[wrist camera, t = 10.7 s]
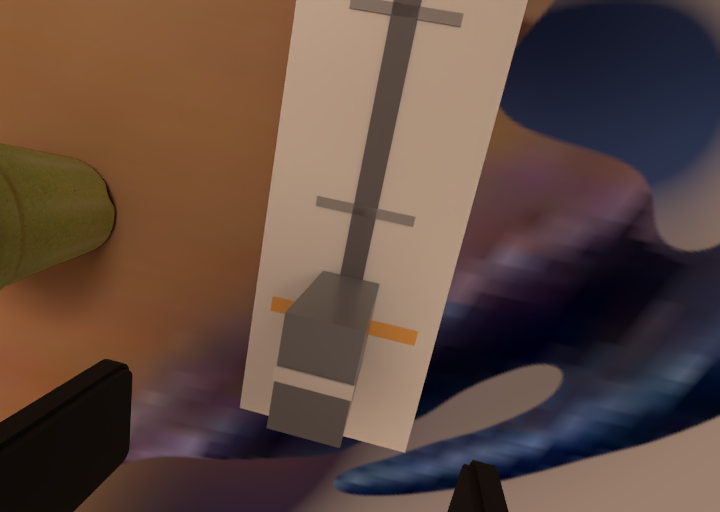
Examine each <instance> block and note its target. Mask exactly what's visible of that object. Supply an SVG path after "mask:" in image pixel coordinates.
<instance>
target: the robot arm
mask: <svg viewBox="0 0 720 512" xmlns="http://www.w3.org/2000/svg"><path fill="white" fill-rule="evenodd" d="M131 395H132V373H131V371H129V367H128V366H127V365H126V364H124V363H120V362H116V361H113V360H109V359H104V360H102V361H100V362H98V363H97V364H95V365H93V366H92V367H90V368H88V369H87V370H85V371H84V372H82V373H80V374H79V375H77V376H75V377H74V378H72V379H70V380H69V381H67V382H66V383H64V384H62V385H61V386H59V387H57V388H56V389H54V390H52V391H51V392H49V393H48V394H46V395H44V396H43V397H41V398H39V399H38V400H36V401H34V402H33V403H31V404H30V405H28V406H26V407H25V408H23V409H21V410H20V411H18V412H16V413H15V414H13V415H12V416H10V417H8V418H7V419H5V420H3V421H2V422H0V512H74V511H75V510H76V508H78V506H79V505H80V504H82V503H83V502H84V500H86V499H87V497H89V496H90V495H91V494H92V493H93V492H94V491H95V489H97V488H98V487H99V486H100V485H101V484H102V482H104V481H105V480H106V479H107V477H108V476H110V474H112V473H113V472H114V471H115V470H116V468H118V467H119V466H120V465H121V463H122V462H123V461H124V460H125V458H126V456H127V454H128V451H129V442H130V419H131ZM448 512H508V508H507V504H506V501H505V497H504V493H503V489H502V486H501V482H500V478H499V474H498V471H497V468H496V467H495V466H493V465H489V464H486V463H482V462H478V461H475V460H472V462H471V463H470V465H466V464H464V465H463V466H462V469H461V472H460V475H459V478H458V481H457V484H456V487H455V490H454V494H453V497H452V500H451V503H450V506H449V509H448Z"/></svg>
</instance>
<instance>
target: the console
mask: <svg viewBox="0 0 720 512" xmlns="http://www.w3.org/2000/svg"><path fill="white" fill-rule="evenodd" d="M527 2H528V0H296V6H295V14H294V21H293V28H292V35H291V42H290V50H289V57H288V64H287V71H286V78H285V86H284V93H283V100H282V107H281V114H280V122H279V129H278V136H277V143H276V150H275V158H274V165H273V172H272V179H271V186H270V193H269V201H268V208H267V215H266V222H265V229H264V237H263V244H262V251H261V258H260V265H259V273H258V280H257V287H256V294H255V301H254V309H253V316H252V323H251V330H250V337H249V345H248V352H247V359H246V366H245V373H244V381H243V388H242V395H241V402H240V408H242V409H246V410H249V411H253V412H257V413H260V414H264V415H268V416H269V410H270V404H271V397H272V391H273V385H274V381H272V379H273V372H274V366H275V365H276V366H277V360H278V354H279V348H280V342H281V335H282V329H283V323H284V317H285V312H286V311H287V310H288V309H289V308H290V307H291V305H292V304H293V303H294V302H295V301H296V300H297V299H298V298H299V297H300V296H301V294H302V293H303V292H304V291H305V290H306V289H307V288H308V287H309V286H310V285H311V284H312V282H313V281H314V280H315V279H316V278H317V277H318V276H319V275H320V274H321V273H322V272H323V271H327V272H331V273H335V274H340V275H344V276H348V277H352V278H357V279H361V280H365V281H370V282H374V283H378V284H379V289H378V293H377V298H376V302H375V307H374V311H373V316H372V320H371V325H370V329H369V334H368V338H367V343H366V347H365V352H364V356H363V361H362V365H361V370H360V373H359V377H358V381H357V385H356V389H355V392H354V396H353V400H352V404H351V408H350V411H349V415H348V419H347V423H346V427H345V431H344V434H343V436H345V437H349V438H352V439H356V440H360V441H363V442H367V443H371V444H374V445H378V446H382V447H386V448H389V449H393V450H396V451H400V452H404V453H405V451H406V447H407V443H408V440H409V436H410V432H411V429H412V425H413V422H414V418H415V414H416V410H417V407H418V403H419V399H420V396H421V392H422V388H423V385H424V381H425V377H426V374H427V370H428V366H429V363H430V359H431V355H432V352H433V348H434V344H435V340H436V337H437V333H438V329H439V326H440V322H441V318H442V315H443V311H444V307H445V304H446V300H447V296H448V293H449V289H450V285H451V282H452V278H453V274H454V270H455V267H456V263H457V259H458V256H459V252H460V248H461V245H462V241H463V237H464V234H465V230H466V226H467V223H468V219H469V215H470V212H471V208H472V204H473V201H474V197H475V193H476V189H477V186H478V182H479V178H480V175H481V171H482V167H483V164H484V160H485V156H486V153H487V149H488V145H489V142H490V138H491V134H492V131H493V127H494V123H495V119H496V116H497V112H498V108H499V105H500V101H501V97H502V94H503V90H504V86H505V83H506V79H507V75H508V71H509V68H510V64H511V60H512V57H513V53H514V49H515V46H516V42H517V38H518V35H519V31H520V27H521V24H522V20H523V16H524V13H525V9H526V5H527Z"/></svg>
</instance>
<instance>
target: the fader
mask: <svg viewBox="0 0 720 512" xmlns="http://www.w3.org/2000/svg"><path fill="white" fill-rule="evenodd" d="M378 289H379V284H378V283H374V282H370V281H365V280H361V279H357V278H352V277H348V276H344V275H340V274H335V273H331V272H327V271H323V272H322V273H321V274H320V275H319V276H318V277H317V278H316V279H315V280H314V281H313V282H312V284H311V285H310V286H309V287H308V288H307V289H306V290H305V291H304V292H303V293H302V294H301V296H300V297H299V298H298V299H297V300H296V301H295V302H294V303H293V304H292V305H291V307H290V308H289V309H288V310H287V311H286V312H285V317H284V323H283V329H282V335H281V342H280V348H279V354H278V360H277V366H276V365H275V366H274V372H273V379H272V381H274V385H273V391H272V397H271V404H270V410H269V416H268V422H267V428H269V429H272V430H276V431H279V432H283V433H287V434H290V435H294V436H298V437H301V438H305V439H308V440H312V441H316V442H319V443H323V444H327V445H330V446H334V447H338V448H340V446H341V442H342V438H343V434H344V431H345V427H346V423H347V419H348V415H349V411H350V408H351V404H352V400H353V396H354V392H355V389H356V385H357V381H358V377H359V373H360V370H361V365H362V361H363V356H364V352H365V347H366V343H367V338H368V334H369V329H370V325H371V320H372V316H373V311H374V307H375V302H376V298H377V293H378Z"/></svg>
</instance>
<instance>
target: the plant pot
mask: <svg viewBox="0 0 720 512" xmlns="http://www.w3.org/2000/svg"><path fill="white" fill-rule="evenodd" d="M114 216H115V210H114V206H113V204H112V203H111V201H110V199H109V196H108V194H107V189H106V184H105V182H104V180H103V179H102V178H101V176H100V175H99V174H98V173H97V172H96V171H95V170H94V169H92V168H91V167H90V166H89V165H87V164H85V163H83V162H82V161H79V160H76V159H73V158H69V157H65V156H60V155H55V154H50V153H45V152H40V151H35V150H30V149H25V148H21V147H16V146H11V145H6V144H1V143H0V290H1V289H2V288H3V287H5V286H6V285H9V284H11V283H14V282H16V281H18V280H21V279H23V278H25V277H28V276H30V275H32V274H35V273H37V272H40V271H42V270H45V269H47V268H50V267H52V266H55V265H57V264H60V263H62V262H65V261H67V260H70V259H72V258H75V257H78V256H80V255H83V254H85V253H88V252H90V251H92V250H94V249H96V248H98V247H99V246H101V245H102V244H103V243H104V242H105V241H106V240H107V238H108V236H109V235H110V233H111V231H112V228H113V224H114Z"/></svg>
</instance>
